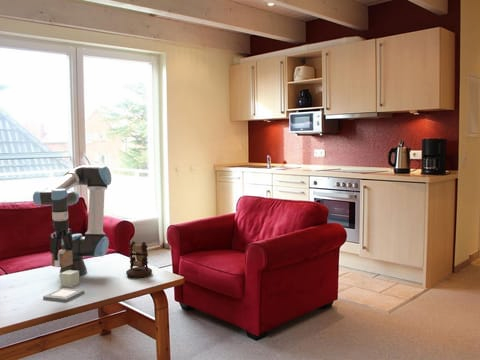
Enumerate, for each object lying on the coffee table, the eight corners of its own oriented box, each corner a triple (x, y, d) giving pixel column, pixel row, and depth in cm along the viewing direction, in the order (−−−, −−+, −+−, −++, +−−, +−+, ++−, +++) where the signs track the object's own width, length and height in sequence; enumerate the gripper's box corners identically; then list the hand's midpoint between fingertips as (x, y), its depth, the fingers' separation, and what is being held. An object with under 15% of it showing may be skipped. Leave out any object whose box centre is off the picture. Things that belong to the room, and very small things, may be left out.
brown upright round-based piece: (156, 272, 279) (155, 239, 277) (145, 279, 265) (144, 245, 263) (133, 270, 283) (132, 238, 281) (121, 278, 268) (120, 243, 266)
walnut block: (52, 266, 235) (51, 252, 235) (61, 262, 242) (61, 249, 241) (63, 267, 233) (63, 253, 232) (72, 263, 240) (72, 250, 239)
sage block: (60, 285, 256) (59, 273, 255) (69, 282, 263) (68, 269, 262) (71, 287, 254) (70, 274, 253) (79, 283, 260) (78, 270, 260)
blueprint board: (43, 299, 234) (43, 296, 234) (62, 290, 248) (62, 287, 248) (66, 301, 230) (66, 299, 230) (84, 292, 243) (84, 290, 243)
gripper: (52, 223, 225) (55, 270, 227) (79, 216, 243) (81, 260, 245) (40, 222, 227) (42, 269, 229) (67, 216, 246) (69, 259, 248)
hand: (62, 264), depth 237 cm, fingers closed on walnut block, 7 cm apart
